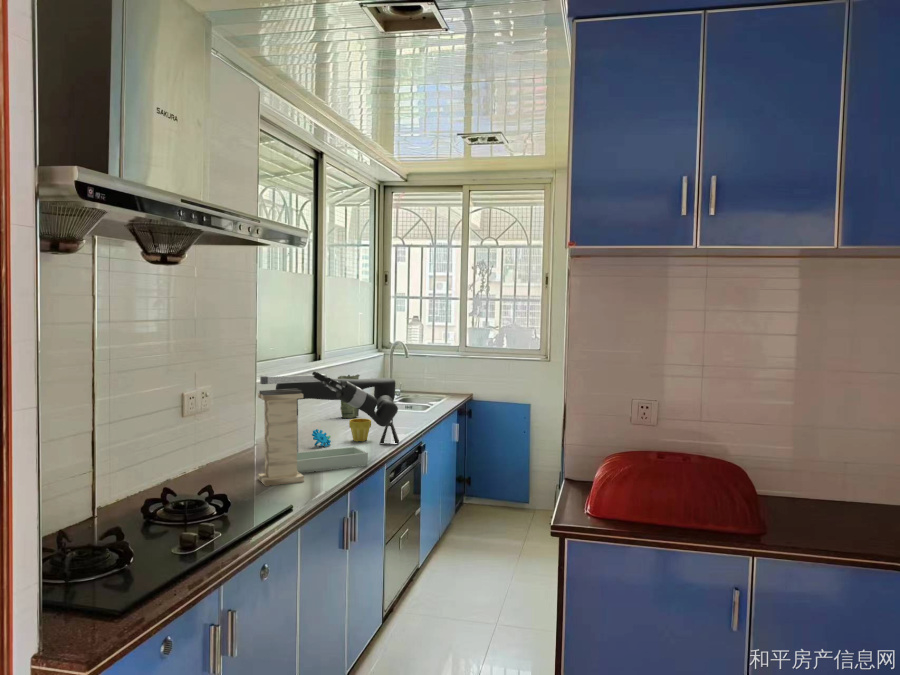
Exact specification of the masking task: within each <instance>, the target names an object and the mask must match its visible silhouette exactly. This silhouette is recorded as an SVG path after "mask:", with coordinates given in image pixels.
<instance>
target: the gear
mask: <svg viewBox="0 0 900 675" xmlns="http://www.w3.org/2000/svg"><path fill="white" fill-rule="evenodd" d="M311 436H312V438H313V440H314V441H315V443H314V446H315V445H316V446H317V445H318V444H320V447H324V448H328V447H329V446H330V445H331V443H332V441H331V439H330V438H332V437H331V435H327V432H323V430H322V429H320V430H319V429H318V428H317V429H314V430H312V434H311Z"/></svg>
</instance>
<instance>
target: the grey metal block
mask: <svg viewBox="0 0 900 675" xmlns="http://www.w3.org/2000/svg"><path fill="white" fill-rule="evenodd" d="M320 374H321V375H323V376H326V377H328V376H327V374H325V373H320ZM259 376H260V377H259V378H260V380H259V382H260V384H261V385H270V384H271V385H277V384H279V383H299V382H319V381H320V380H318V379H316V378H314V375H312V374H303V375H296V374H295V375H279V376H278V375H277V376H276V375H275V376H266V375H263V376H262V375H259Z"/></svg>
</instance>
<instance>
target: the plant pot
mask: <svg viewBox="0 0 900 675" xmlns="http://www.w3.org/2000/svg"><path fill="white" fill-rule="evenodd" d="M348 425H349V428H350V430H351V436H352V441H353V440H354V442H358V441H362V442H366V441H367V440H368V436H369V434H370V433H369V432H370V428H371V427H372V419H371V418H350V420H349V424H348ZM365 440H366V441H365Z"/></svg>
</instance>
